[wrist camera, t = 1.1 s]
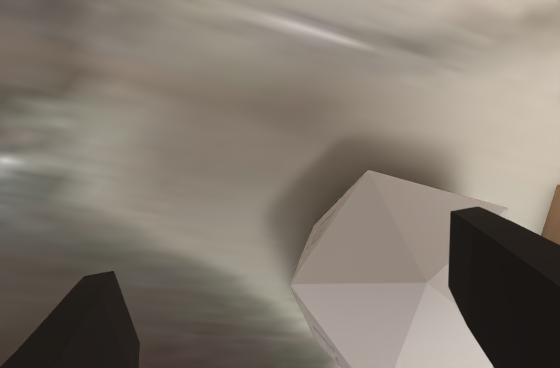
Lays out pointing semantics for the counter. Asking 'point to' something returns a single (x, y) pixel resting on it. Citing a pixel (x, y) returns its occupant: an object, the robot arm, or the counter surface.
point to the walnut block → (553, 219)
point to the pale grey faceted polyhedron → (387, 278)
